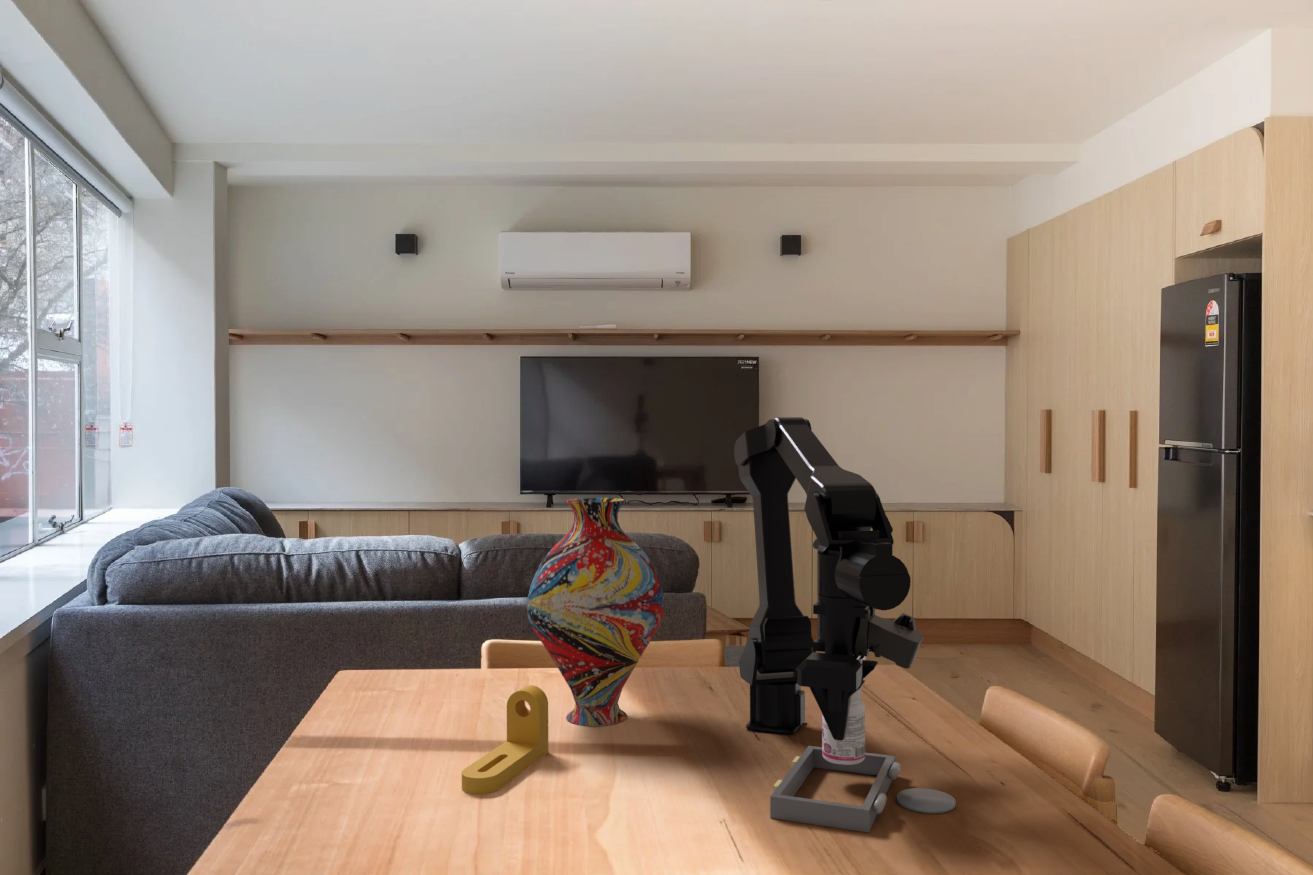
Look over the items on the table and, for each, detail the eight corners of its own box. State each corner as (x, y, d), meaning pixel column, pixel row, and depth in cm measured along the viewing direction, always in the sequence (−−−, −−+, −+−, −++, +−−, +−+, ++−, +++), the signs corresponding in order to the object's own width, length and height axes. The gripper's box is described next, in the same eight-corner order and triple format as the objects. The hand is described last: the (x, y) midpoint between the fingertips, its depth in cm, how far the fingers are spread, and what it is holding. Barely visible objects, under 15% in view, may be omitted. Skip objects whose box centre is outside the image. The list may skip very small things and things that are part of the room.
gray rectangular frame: (764, 816, 100) (764, 795, 100) (803, 763, 116) (803, 744, 116) (879, 833, 96) (879, 811, 96) (903, 776, 112) (903, 756, 112)
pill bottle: (817, 751, 112) (817, 678, 112) (858, 750, 112) (858, 677, 112) (828, 766, 107) (827, 689, 107) (870, 764, 107) (870, 688, 107)
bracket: (516, 750, 122) (516, 683, 122) (548, 753, 121) (548, 686, 120) (454, 793, 108) (453, 718, 108) (489, 797, 106) (489, 721, 106)
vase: (501, 729, 130) (500, 503, 129) (567, 692, 147) (566, 493, 147) (632, 745, 123) (631, 507, 122) (684, 705, 140) (683, 496, 140)
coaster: (893, 808, 102) (893, 804, 102) (901, 788, 108) (901, 785, 108) (952, 816, 100) (952, 812, 100) (957, 796, 106) (957, 792, 106)
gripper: (905, 614, 98) (905, 769, 98) (927, 585, 115) (927, 717, 115) (795, 606, 102) (796, 755, 102) (833, 579, 119) (833, 707, 119)
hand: (843, 732), depth 110 cm, fingers closed on pill bottle, 5 cm apart
